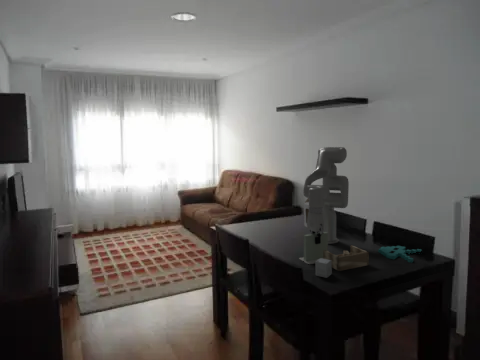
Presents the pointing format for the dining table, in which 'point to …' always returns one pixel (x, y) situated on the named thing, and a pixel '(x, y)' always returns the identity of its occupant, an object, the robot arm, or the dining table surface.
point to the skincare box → (323, 267)
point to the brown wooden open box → (348, 259)
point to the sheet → (314, 246)
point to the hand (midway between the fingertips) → (315, 242)
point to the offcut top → (345, 253)
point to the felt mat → (308, 261)
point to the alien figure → (397, 252)
